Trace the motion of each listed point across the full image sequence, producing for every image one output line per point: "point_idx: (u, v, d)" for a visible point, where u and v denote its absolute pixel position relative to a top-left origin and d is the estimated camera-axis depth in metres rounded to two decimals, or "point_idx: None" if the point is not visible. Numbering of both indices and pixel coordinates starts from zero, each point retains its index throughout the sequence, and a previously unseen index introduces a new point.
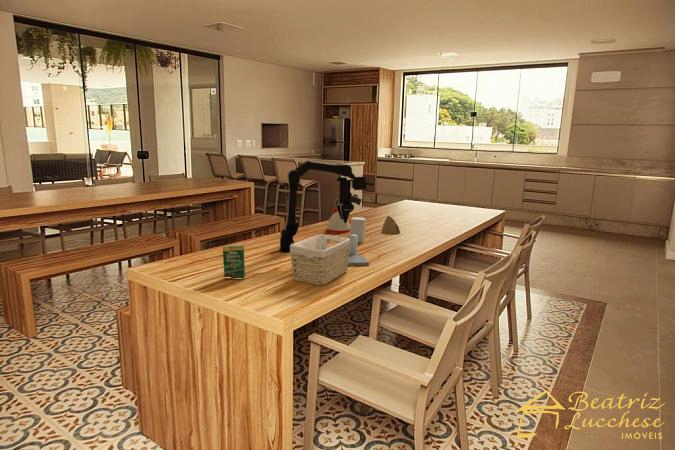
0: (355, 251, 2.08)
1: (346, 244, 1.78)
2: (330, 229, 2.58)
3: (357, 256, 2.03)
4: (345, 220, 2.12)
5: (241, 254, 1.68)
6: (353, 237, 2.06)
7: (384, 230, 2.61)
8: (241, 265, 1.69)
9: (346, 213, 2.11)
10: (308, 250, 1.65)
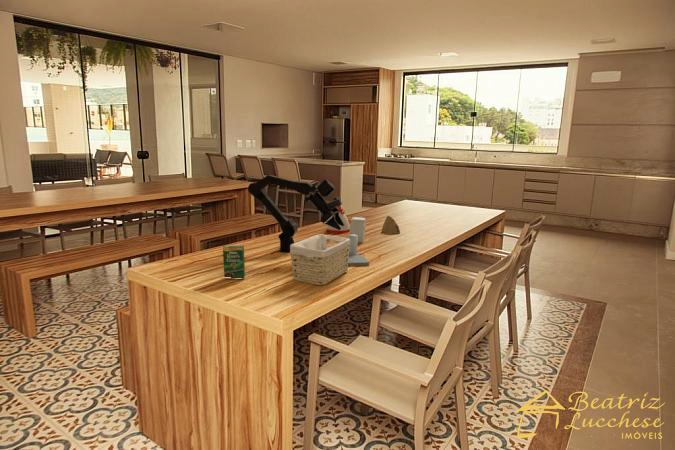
0: (355, 251, 2.08)
1: (346, 244, 1.78)
2: (330, 229, 2.58)
3: (357, 256, 2.03)
4: (338, 227, 2.04)
5: (241, 254, 1.68)
6: (353, 237, 2.06)
7: (384, 230, 2.61)
8: (241, 265, 1.69)
9: (333, 221, 2.03)
10: (308, 250, 1.65)
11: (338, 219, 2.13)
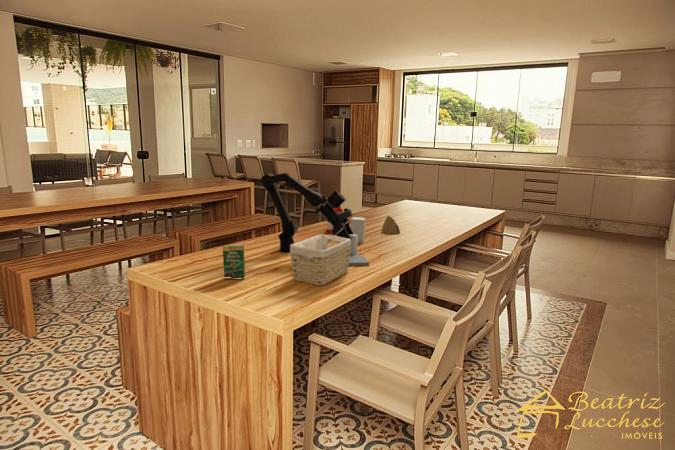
0: (355, 251, 2.08)
1: (347, 244, 1.77)
2: (330, 229, 2.58)
3: (357, 256, 2.03)
4: None
5: (241, 254, 1.68)
6: (353, 237, 2.06)
7: (384, 230, 2.61)
8: (241, 265, 1.69)
9: (343, 233, 2.03)
10: (308, 250, 1.64)
11: (348, 230, 2.13)
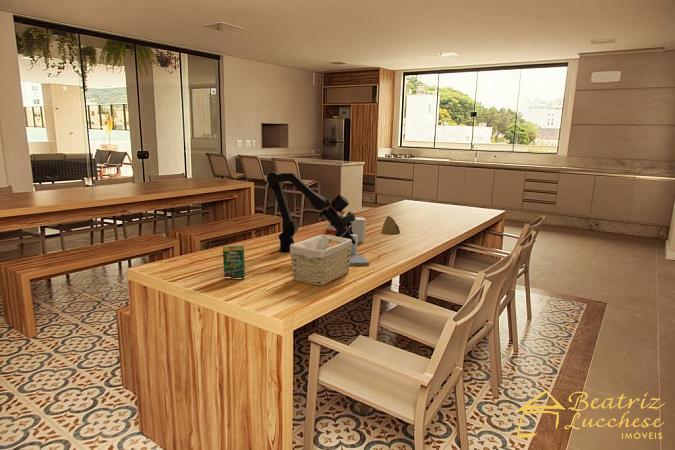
0: (355, 251, 2.08)
1: (347, 245, 1.77)
2: (330, 229, 2.58)
3: (357, 256, 2.03)
4: (352, 241, 2.06)
5: (241, 254, 1.68)
6: (353, 237, 2.06)
7: (384, 230, 2.61)
8: (241, 265, 1.69)
9: (347, 236, 2.05)
10: (307, 250, 1.64)
11: None
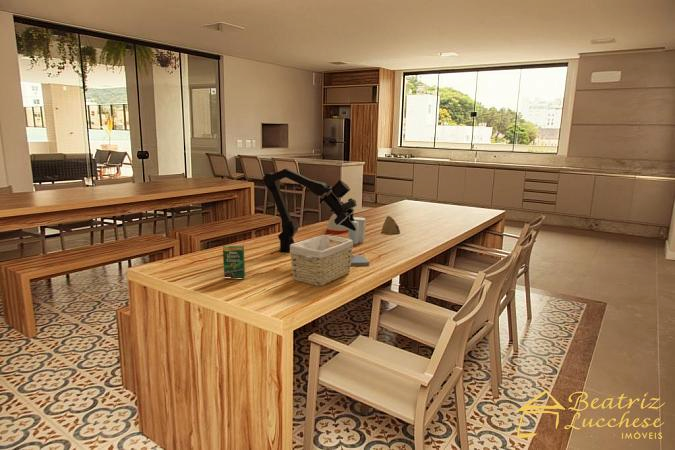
0: (356, 238, 2.04)
1: (348, 245, 1.76)
2: (330, 229, 2.58)
3: (357, 256, 2.03)
4: (353, 228, 2.02)
5: (241, 254, 1.68)
6: (353, 224, 2.02)
7: (384, 230, 2.61)
8: (241, 265, 1.69)
9: (348, 222, 2.01)
10: (306, 250, 1.64)
11: None
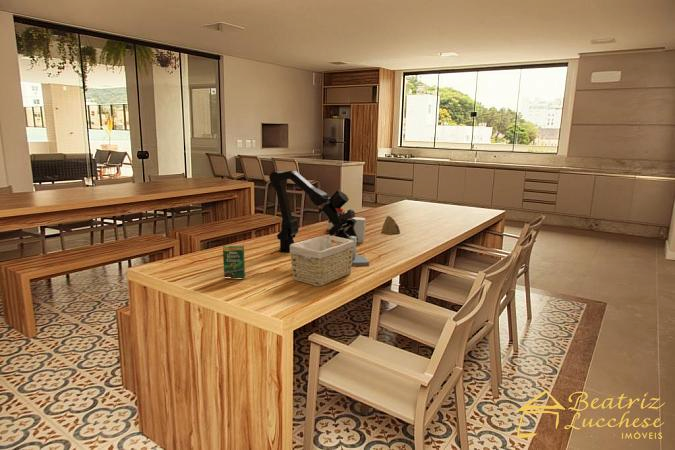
0: (352, 254, 1.97)
1: (348, 246, 1.75)
2: None
3: (357, 256, 2.03)
4: None
5: (241, 254, 1.68)
6: (350, 239, 1.96)
7: (384, 230, 2.61)
8: (241, 265, 1.69)
9: (342, 234, 1.94)
10: (306, 250, 1.64)
11: (352, 233, 2.01)
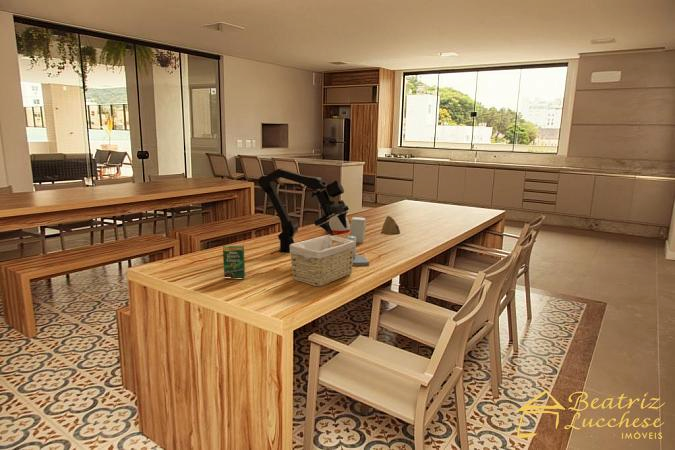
0: None
1: (349, 246, 1.75)
2: None
3: (357, 256, 2.03)
4: (330, 232, 2.03)
5: (241, 254, 1.68)
6: (350, 239, 1.96)
7: (384, 230, 2.61)
8: (241, 265, 1.69)
9: (326, 226, 2.03)
10: (305, 250, 1.64)
11: (342, 220, 2.09)
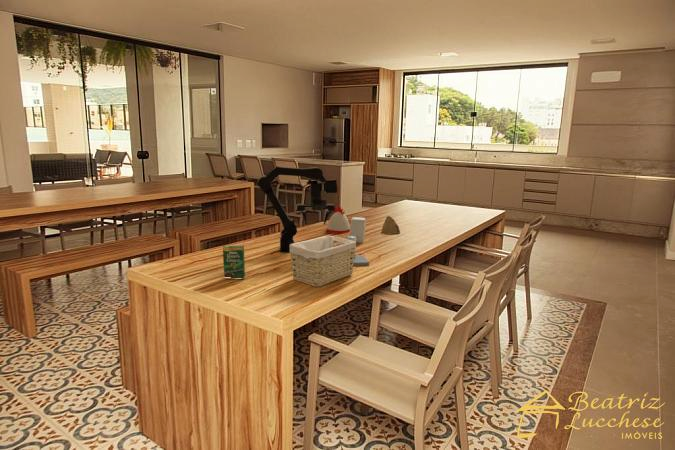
0: None
1: (349, 247, 1.74)
2: (330, 229, 2.58)
3: (357, 256, 2.03)
4: None
5: (241, 254, 1.68)
6: (350, 239, 1.96)
7: (384, 230, 2.61)
8: (241, 265, 1.69)
9: None
10: (304, 250, 1.64)
11: (324, 217, 2.15)
